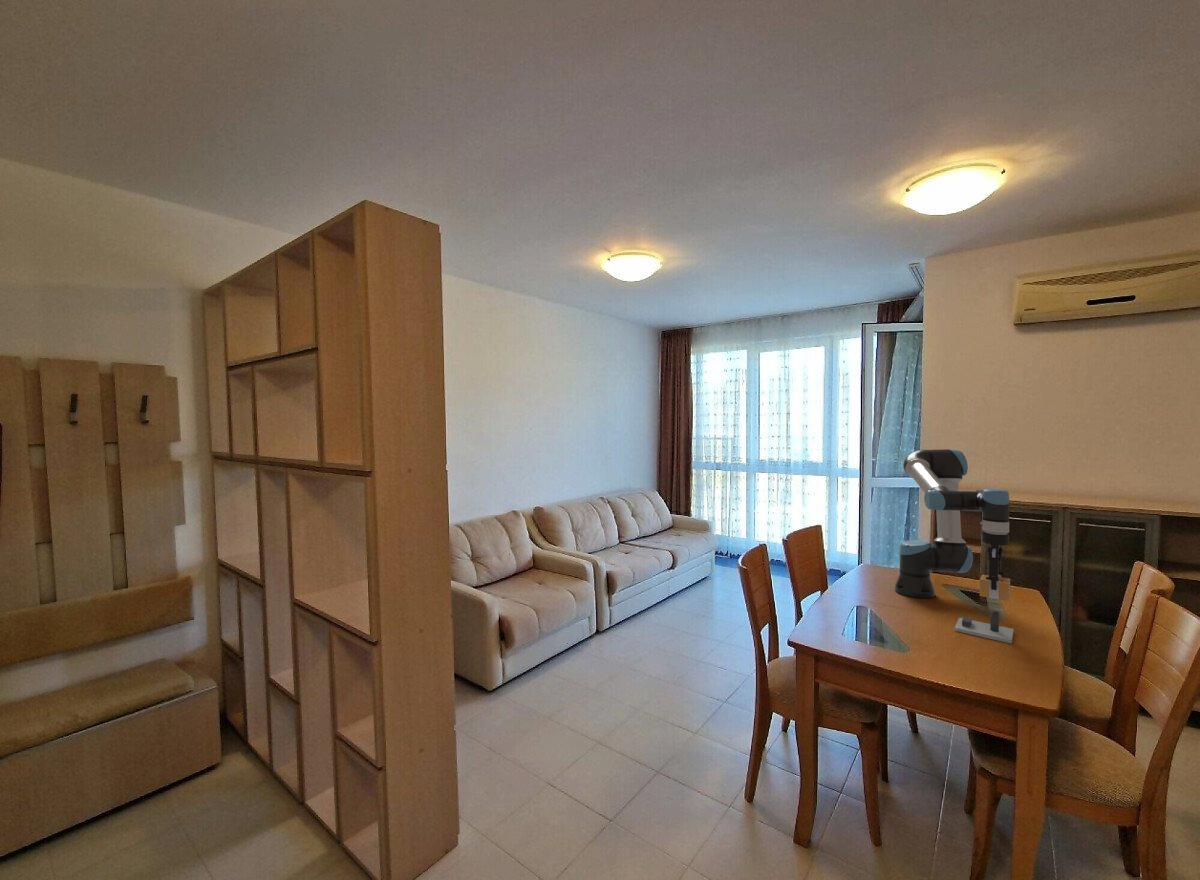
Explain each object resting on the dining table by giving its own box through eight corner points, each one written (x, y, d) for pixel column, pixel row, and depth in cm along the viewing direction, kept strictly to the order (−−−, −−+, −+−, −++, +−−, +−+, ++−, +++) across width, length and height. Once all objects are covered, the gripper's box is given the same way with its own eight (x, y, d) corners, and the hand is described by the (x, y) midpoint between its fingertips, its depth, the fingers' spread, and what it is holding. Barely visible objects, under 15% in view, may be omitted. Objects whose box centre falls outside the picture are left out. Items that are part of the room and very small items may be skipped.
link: (981, 590, 181) (982, 574, 181) (1010, 595, 175) (1010, 578, 175) (979, 595, 175) (979, 579, 175) (1008, 601, 170) (1008, 584, 170)
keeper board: (959, 620, 188) (959, 599, 188) (1013, 632, 177) (1013, 609, 177) (954, 630, 179) (954, 608, 179) (1011, 643, 168) (1011, 620, 168)
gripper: (985, 526, 185) (984, 585, 185) (979, 535, 170) (978, 600, 170) (1010, 529, 180) (1010, 590, 180) (1007, 539, 164) (1006, 605, 165)
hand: (994, 595), depth 175 cm, fingers closed on link, 8 cm apart
